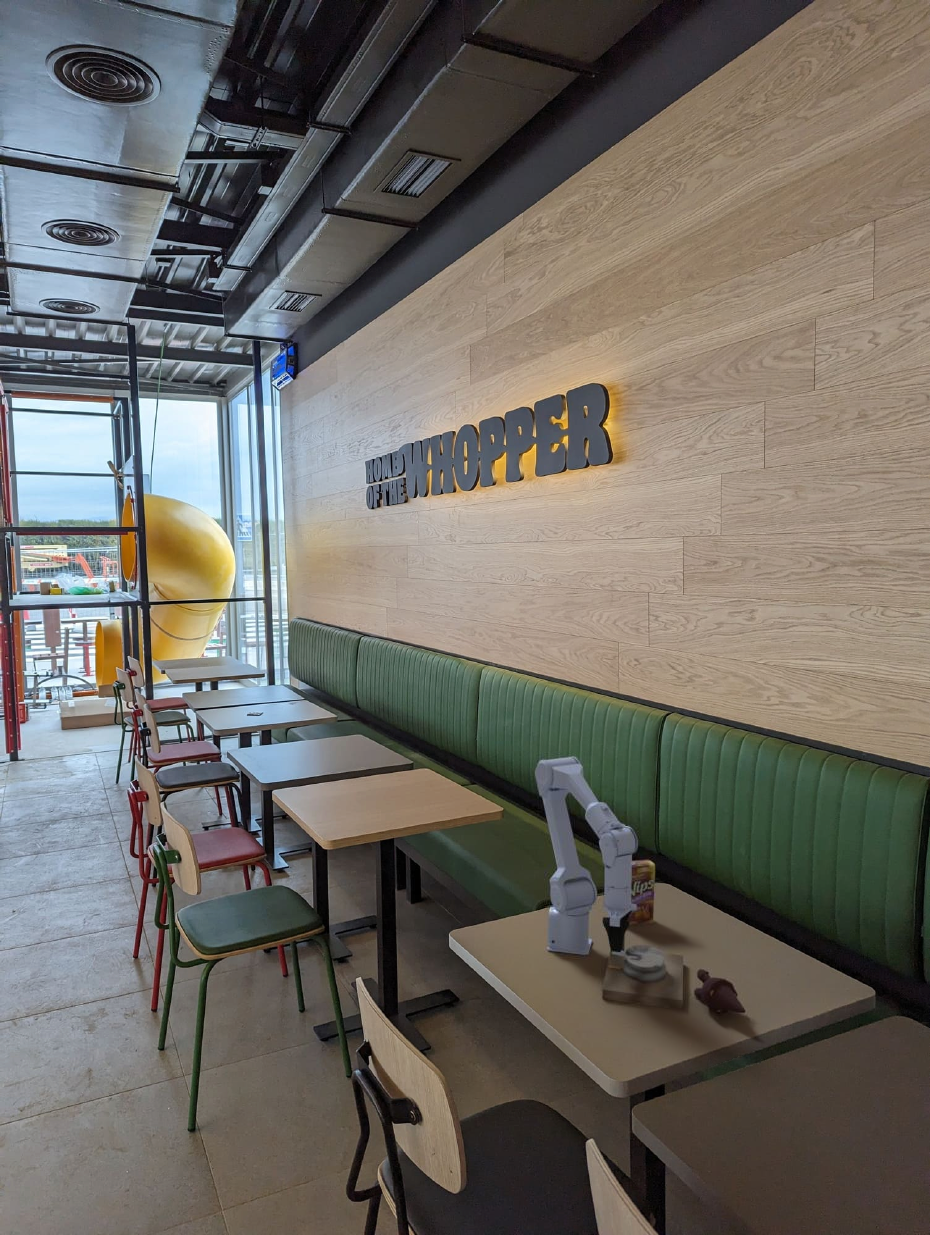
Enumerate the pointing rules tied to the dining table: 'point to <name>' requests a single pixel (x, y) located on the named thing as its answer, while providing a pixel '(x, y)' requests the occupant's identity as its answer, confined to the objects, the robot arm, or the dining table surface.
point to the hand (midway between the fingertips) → (617, 945)
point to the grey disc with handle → (642, 958)
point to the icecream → (718, 994)
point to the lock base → (645, 983)
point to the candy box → (642, 891)
